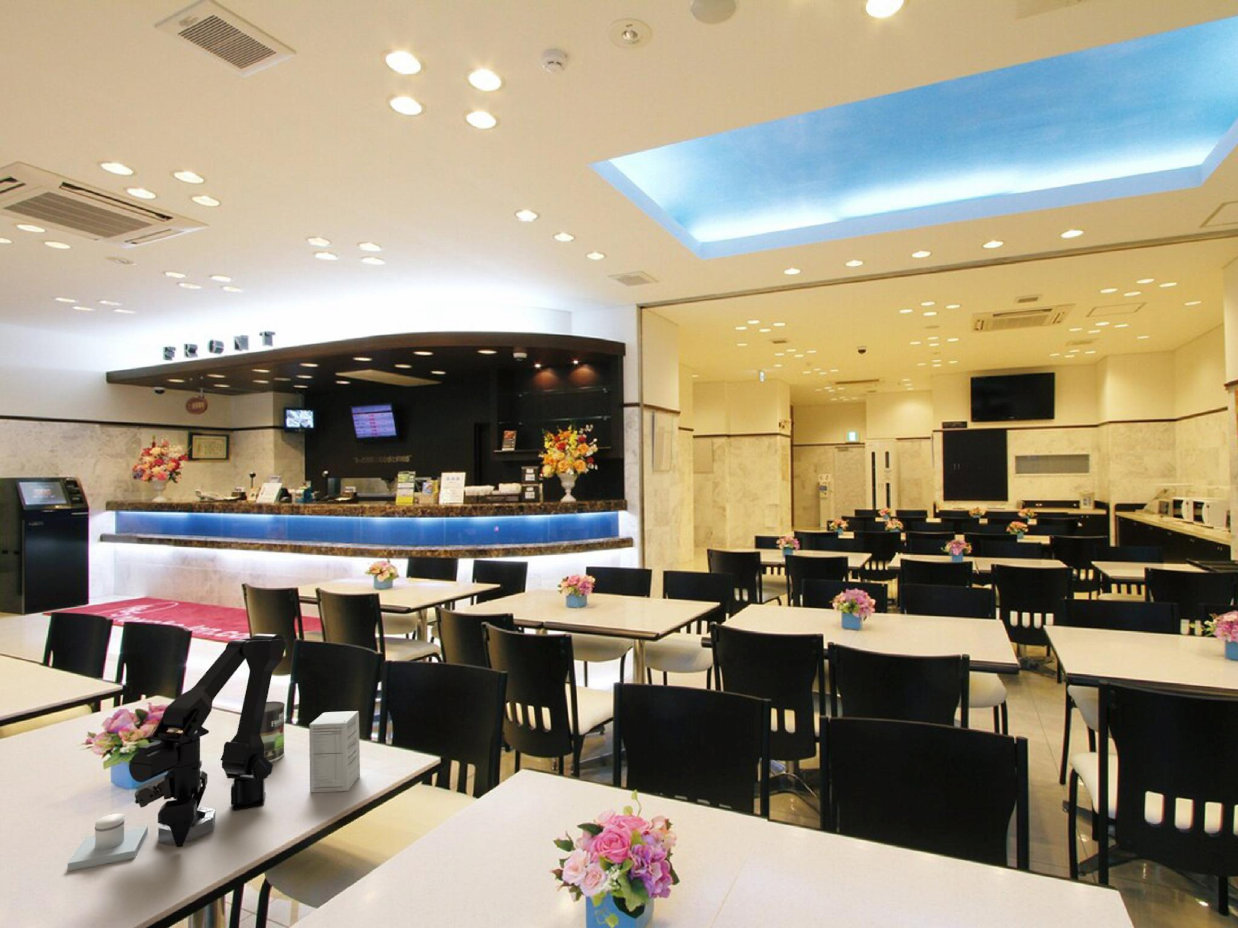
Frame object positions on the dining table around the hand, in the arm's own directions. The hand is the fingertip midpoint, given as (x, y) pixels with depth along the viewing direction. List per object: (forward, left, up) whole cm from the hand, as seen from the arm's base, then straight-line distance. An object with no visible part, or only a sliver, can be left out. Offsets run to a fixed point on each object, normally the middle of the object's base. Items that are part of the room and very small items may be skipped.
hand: (184, 836), depth 144 cm
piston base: (+14, -2, -1) cm, 14 cm away
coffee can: (-12, -43, -1) cm, 45 cm away
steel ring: (0, -4, -1) cm, 4 cm away
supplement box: (-30, -16, -1) cm, 34 cm away
